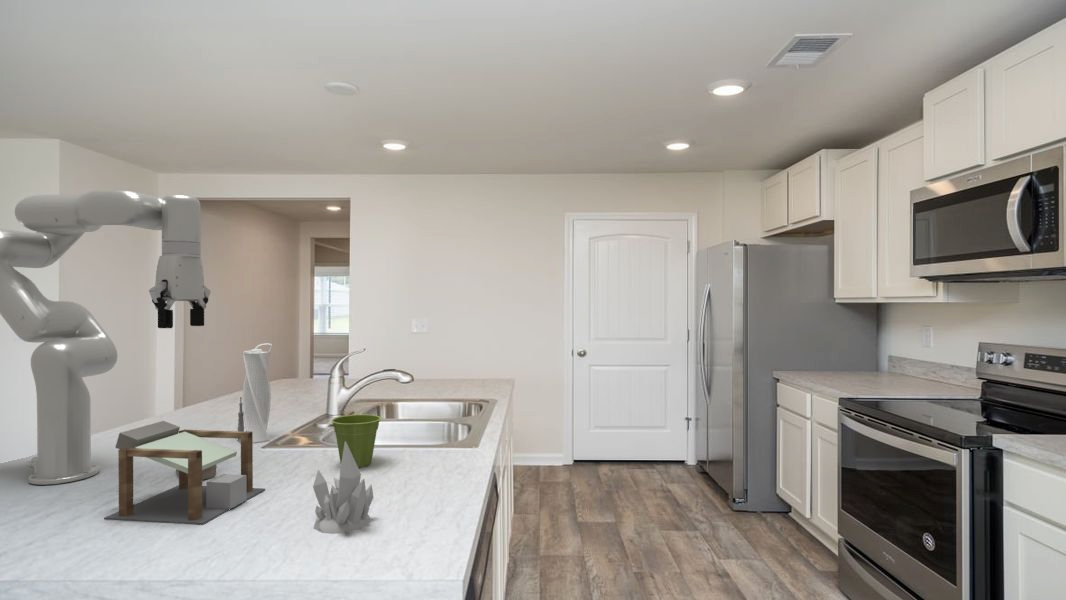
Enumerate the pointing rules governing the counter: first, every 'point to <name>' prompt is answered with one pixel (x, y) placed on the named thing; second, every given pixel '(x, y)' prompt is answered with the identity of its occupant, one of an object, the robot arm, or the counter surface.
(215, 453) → the trapdoor
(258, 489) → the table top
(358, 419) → the plant pot
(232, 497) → the stone block
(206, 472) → the concrete fragment
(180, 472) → the frame
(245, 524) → the counter surface
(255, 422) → the skyscraper
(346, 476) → the crystal
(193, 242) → the robot arm
